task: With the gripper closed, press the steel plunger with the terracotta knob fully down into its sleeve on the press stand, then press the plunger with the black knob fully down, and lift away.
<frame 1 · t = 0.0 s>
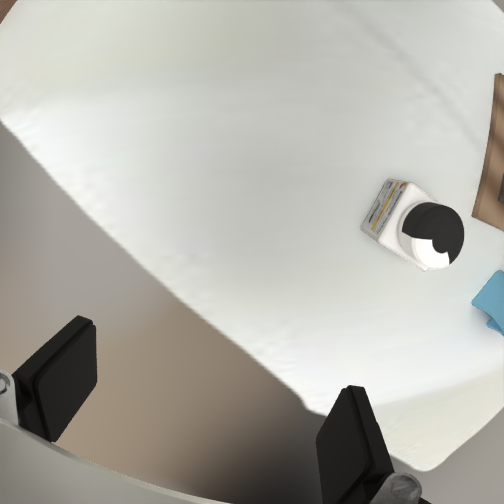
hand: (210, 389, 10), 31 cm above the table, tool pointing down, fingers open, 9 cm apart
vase: (493, 297, 41), on the table
container: (395, 217, 39), on the table
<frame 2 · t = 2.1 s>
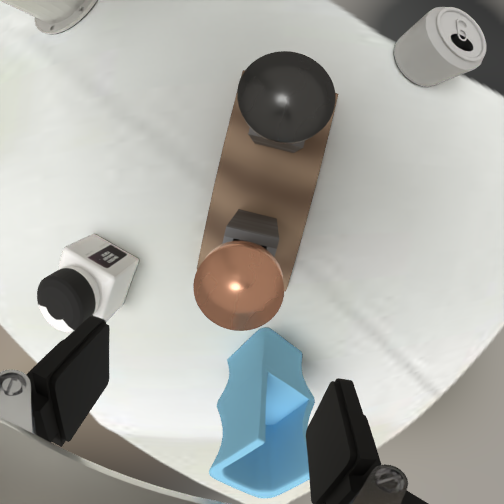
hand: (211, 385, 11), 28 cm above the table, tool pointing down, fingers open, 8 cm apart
plunger black: (282, 112, 22), point 13 cm above the table, slide at 0.0 cm
plunger terracotta: (245, 262, 25), point 13 cm above the table, slide at 0.0 cm
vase: (266, 357, 43), on the table
press stand: (266, 180, 36), on the table
container: (109, 269, 41), on the table
can: (416, 62, 31), on the table
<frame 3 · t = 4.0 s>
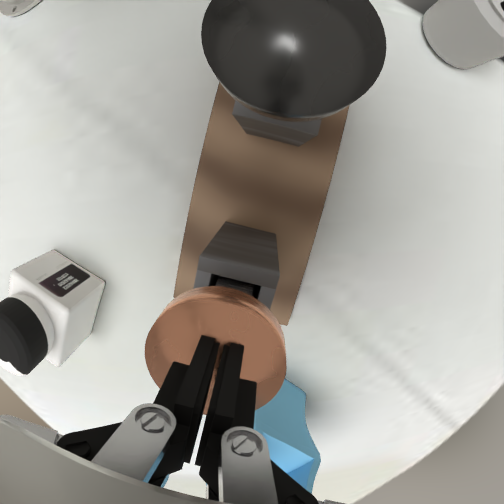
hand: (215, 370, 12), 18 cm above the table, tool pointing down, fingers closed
plunger black: (286, 78, 13), point 13 cm above the table, slide at 0.0 cm
plunger terracotta: (230, 303, 17), point 12 cm above the table, slide at 0.9 cm, touching gripper
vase: (263, 398, 34), on the table
press stand: (261, 182, 27), on the table
container: (72, 291, 32), on the table
can: (448, 39, 22), on the table
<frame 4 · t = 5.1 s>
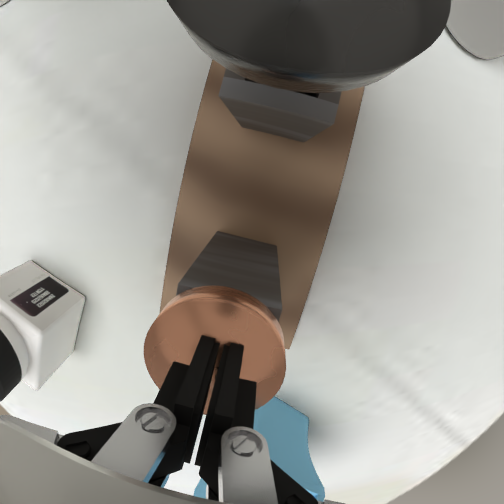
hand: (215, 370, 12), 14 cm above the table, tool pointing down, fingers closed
plunger black: (291, 47, 9), point 13 cm above the table, slide at 0.0 cm
plunger terracotta: (230, 302, 17), point 8 cm above the table, slide at 5.1 cm, touching gripper
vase: (261, 422, 30), on the table
press stand: (260, 185, 23), on the table
container: (52, 306, 28), on the table
can: (467, 27, 18), on the table
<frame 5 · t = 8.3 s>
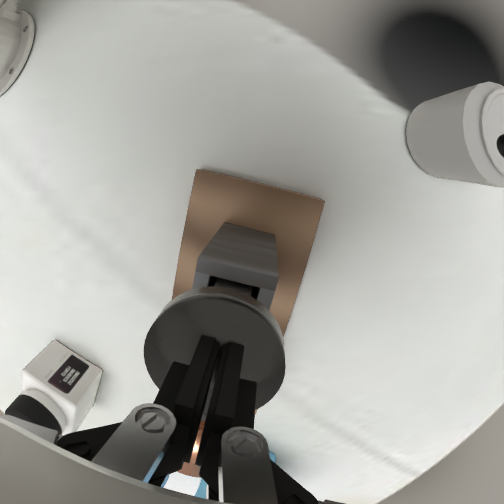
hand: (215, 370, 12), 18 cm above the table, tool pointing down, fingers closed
plunger black: (229, 303, 17), point 12 cm above the table, slide at 1.1 cm, touching gripper
plunger terracotta: (206, 405, 25), point 8 cm above the table, slide at 5.1 cm
press stand: (230, 306, 30), on the table
container: (74, 372, 35), on the table
can: (434, 139, 25), on the table
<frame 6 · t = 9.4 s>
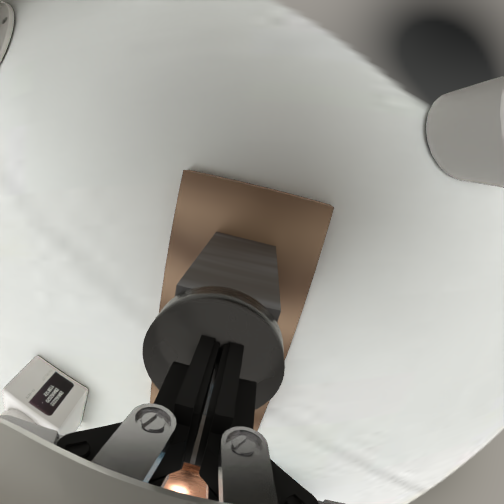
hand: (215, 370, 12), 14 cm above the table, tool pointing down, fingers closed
plunger black: (229, 303, 17), point 8 cm above the table, slide at 5.1 cm, touching gripper
plunger terracotta: (197, 438, 21), point 8 cm above the table, slide at 5.1 cm
press stand: (225, 326, 27), on the table
container: (60, 389, 31), on the table
can: (455, 136, 21), on the table
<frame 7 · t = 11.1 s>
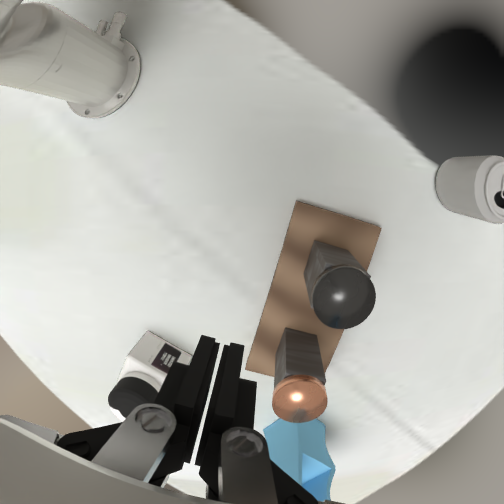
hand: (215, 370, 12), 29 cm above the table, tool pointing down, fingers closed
plunger black: (334, 278, 32), point 8 cm above the table, slide at 5.1 cm
plunger terracotta: (297, 371, 35), point 8 cm above the table, slide at 5.1 cm
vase: (296, 428, 47), on the table
press stand: (309, 301, 41), on the table
container: (161, 359, 46), on the table
can: (454, 184, 36), on the table
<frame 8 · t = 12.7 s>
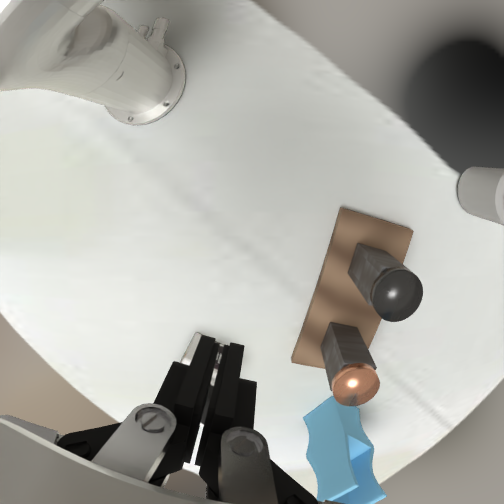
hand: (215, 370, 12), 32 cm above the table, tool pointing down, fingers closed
plunger black: (381, 277, 35), point 8 cm above the table, slide at 5.1 cm
plunger terracotta: (347, 361, 39), point 8 cm above the table, slide at 5.1 cm
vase: (333, 414, 51), on the table
press stand: (350, 297, 45), on the table
container: (208, 358, 49), on the table
can: (472, 190, 39), on the table
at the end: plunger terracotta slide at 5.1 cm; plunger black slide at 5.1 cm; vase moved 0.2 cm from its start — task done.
